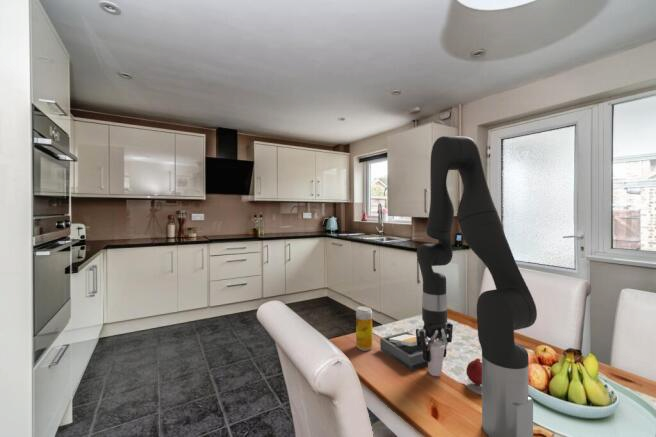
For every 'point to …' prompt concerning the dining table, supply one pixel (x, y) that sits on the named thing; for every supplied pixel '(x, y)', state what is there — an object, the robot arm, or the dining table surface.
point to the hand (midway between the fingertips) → (434, 358)
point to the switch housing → (403, 353)
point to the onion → (475, 371)
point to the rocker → (404, 340)
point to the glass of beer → (364, 328)
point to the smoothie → (436, 357)
